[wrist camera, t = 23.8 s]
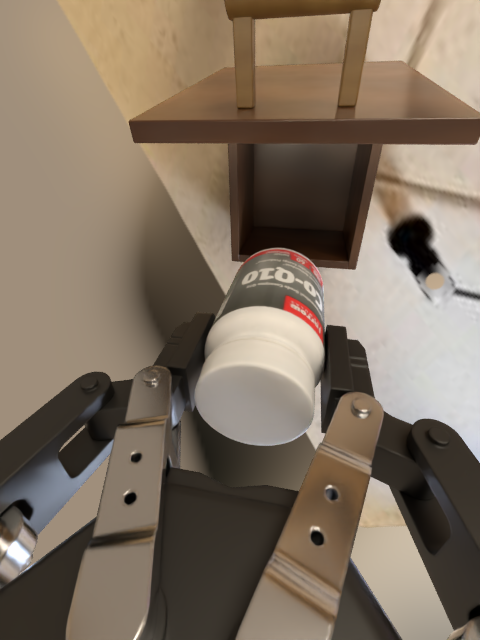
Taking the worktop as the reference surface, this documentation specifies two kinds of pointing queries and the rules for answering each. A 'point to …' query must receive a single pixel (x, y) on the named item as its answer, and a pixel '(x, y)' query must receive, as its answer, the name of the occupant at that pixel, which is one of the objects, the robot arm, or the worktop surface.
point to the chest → (301, 199)
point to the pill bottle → (265, 351)
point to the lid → (310, 94)
